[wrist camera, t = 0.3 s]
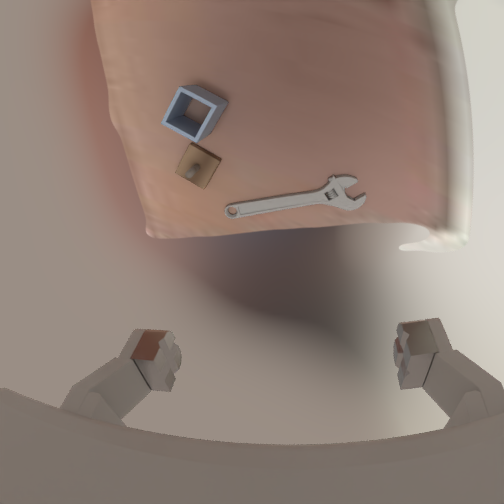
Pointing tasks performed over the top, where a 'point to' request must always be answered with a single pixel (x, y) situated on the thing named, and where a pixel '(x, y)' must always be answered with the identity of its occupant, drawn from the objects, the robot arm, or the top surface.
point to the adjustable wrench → (303, 199)
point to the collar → (186, 125)
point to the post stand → (198, 165)
